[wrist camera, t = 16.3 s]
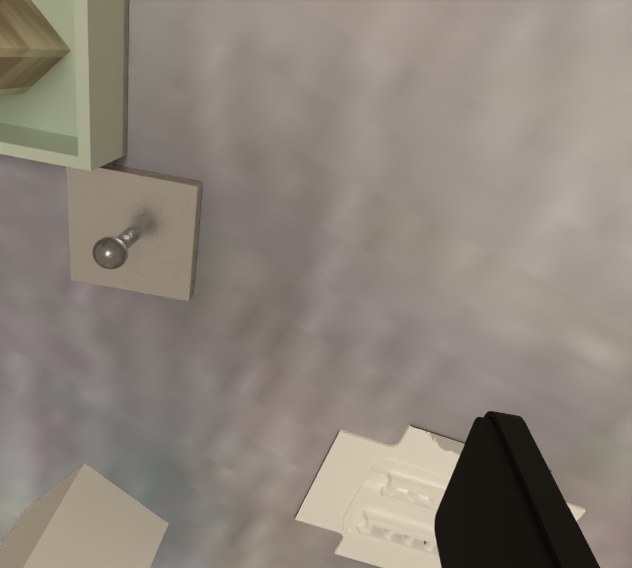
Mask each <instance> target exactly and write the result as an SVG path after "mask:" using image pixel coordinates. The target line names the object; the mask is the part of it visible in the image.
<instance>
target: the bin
mask: <svg viewBox="0 0 632 568" xmlns="http://www.w3.org/2000/svg"><path fill="white" fill-rule="evenodd" d="M32 2H33V3H34V4H35V5H36V7H37V8H38V9H39V10H40V12H41V13H42V14H43V15H44V17H45V18H46V19H47V20H48V22H49V23H50V24H51V25H52V27H53V28H54V29H55V30H56V32H57V33H58V34H59V35H60V37H61V38H62V39H63V41H64V42H65V43H66V44H67V46H68V47H69V48H70V49H71V51H70V52H68V53H67V54H66V55H65V56H64V57H63V58H62V59H61V60H60V61H59V62H58V63H56V64H55V65H54V66H53V67H52V68H51V69H50V70H49V71H48V72H47V73H46V74H44V75H43V76H42V77H41V78H40V79H39V80H38V81H37V82H36V83H35V84H34V85H33V86H31V87H30V88H29V89H28V90H27V91H26V92H25V93H23V94H14V95H5V96H0V154H3V155H8V156H14V157H19V158H24V159H29V160H35V161H40V162H45V163H51V164H56V165H61V166H66V167H72V168H77V169H82V170H88V171H92V170H94V169H96V168H99V167H101V166H103V165H105V164H108V163H110V162H112V161H114V160H116V159H119V158H121V157H123V156H125V155H127V113H128V32H129V0H32Z"/></svg>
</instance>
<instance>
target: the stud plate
mask: <svg viewBox="0 0 632 568" xmlns="http://www.w3.org/2000/svg"><path fill="white" fill-rule="evenodd" d="M66 177H67V201H68V225H69V248H70V272H71V280H74V281H80V282H85V283H91V284H96V285H102V286H107V287H113V288H118V289H124V290H129V291H135V292H140V293H146V294H151V295H157V296H162V297H168V298H173V299H179V300H184V301H189V300H190V299H191V297H192V295H193V294H194V284H195V272H196V259H197V247H198V234H199V222H200V210H201V197H202V185H203V182H201V181H195V180H190V179H185V178H180V177H174V176H169V175H164V174H159V173H153V172H148V171H143V170H138V169H132V168H127V167H122V166H117V165H111V164H105V165H103V166H101V167H99V168H96V169H94V170H92V171H88V170H82V169H77V168H72V167H66Z"/></svg>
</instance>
